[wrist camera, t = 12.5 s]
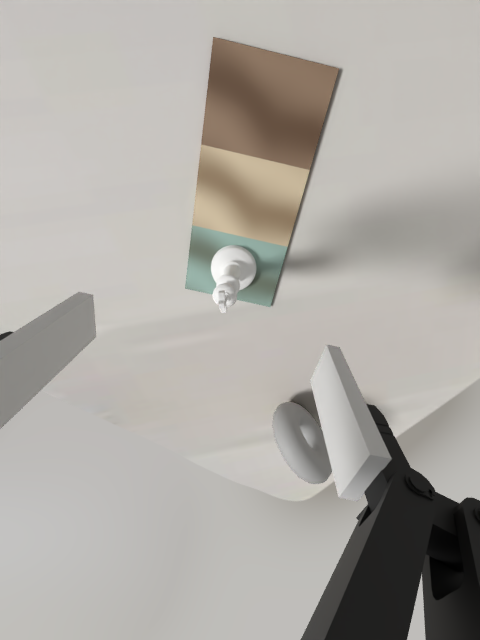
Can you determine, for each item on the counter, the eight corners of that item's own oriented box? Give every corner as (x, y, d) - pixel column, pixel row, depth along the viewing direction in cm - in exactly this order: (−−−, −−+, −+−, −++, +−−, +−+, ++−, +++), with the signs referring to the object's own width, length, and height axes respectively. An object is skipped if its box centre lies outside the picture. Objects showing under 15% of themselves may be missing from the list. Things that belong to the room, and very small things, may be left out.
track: (214, 38, 20) (213, 37, 20) (338, 70, 21) (339, 68, 20) (185, 287, 30) (185, 288, 30) (270, 305, 30) (270, 307, 30)
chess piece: (255, 243, 27) (252, 272, 18) (257, 288, 29) (255, 333, 20) (208, 246, 27) (183, 276, 18) (214, 290, 30) (194, 335, 21)
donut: (327, 423, 38) (347, 494, 30) (308, 433, 40) (322, 504, 31) (284, 383, 36) (292, 449, 27) (265, 395, 37) (267, 462, 28)
